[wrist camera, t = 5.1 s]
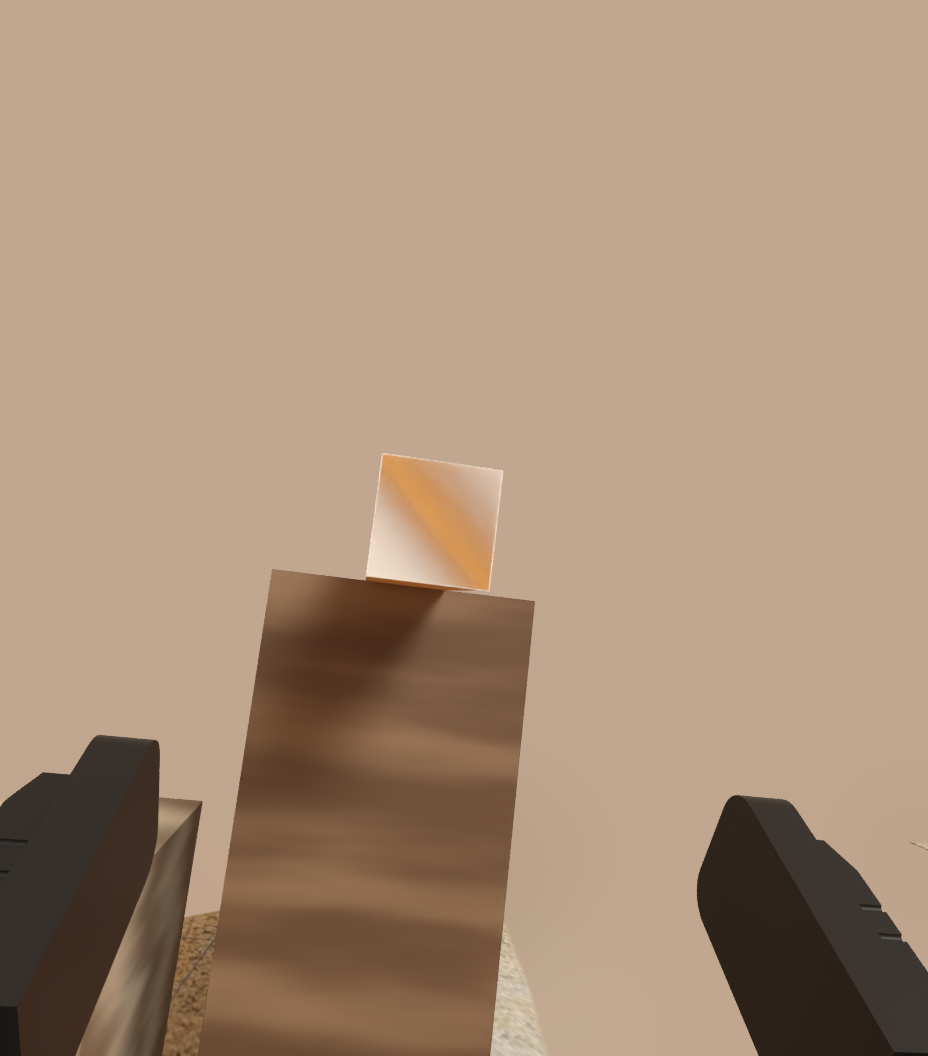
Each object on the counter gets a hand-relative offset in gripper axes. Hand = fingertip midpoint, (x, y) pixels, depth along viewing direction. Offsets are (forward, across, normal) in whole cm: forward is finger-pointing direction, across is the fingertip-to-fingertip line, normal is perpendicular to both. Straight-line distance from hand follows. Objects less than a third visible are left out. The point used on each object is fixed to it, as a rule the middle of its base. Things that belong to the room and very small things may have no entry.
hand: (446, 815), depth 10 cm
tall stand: (+8, 0, +37) cm, 37 cm away
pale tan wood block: (+20, 0, +6) cm, 21 cm away
